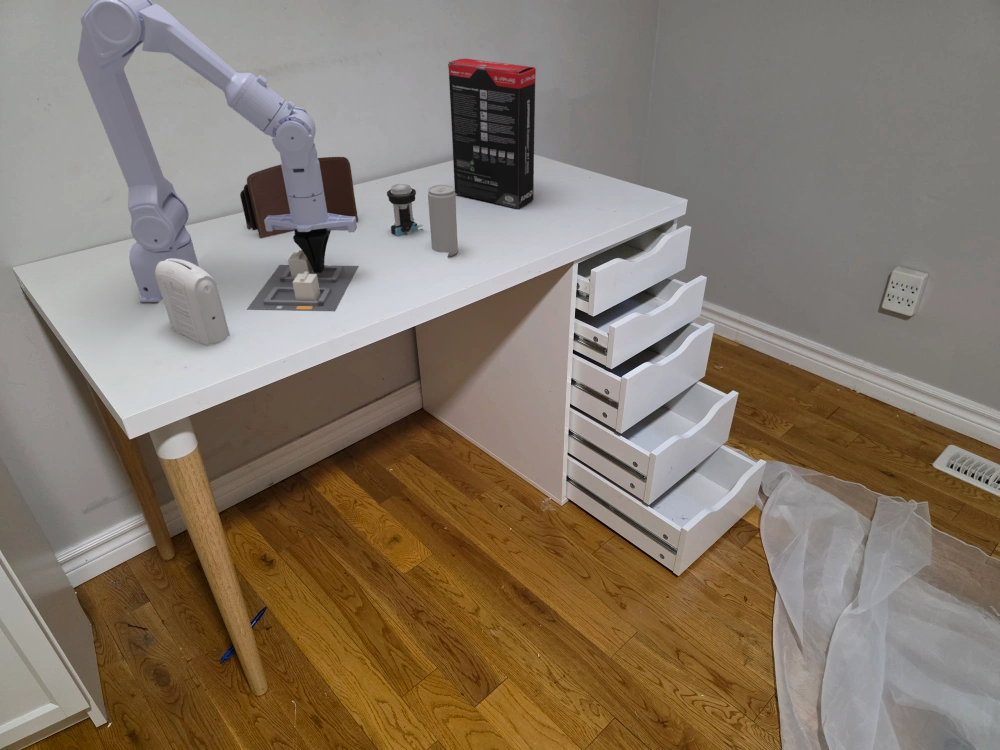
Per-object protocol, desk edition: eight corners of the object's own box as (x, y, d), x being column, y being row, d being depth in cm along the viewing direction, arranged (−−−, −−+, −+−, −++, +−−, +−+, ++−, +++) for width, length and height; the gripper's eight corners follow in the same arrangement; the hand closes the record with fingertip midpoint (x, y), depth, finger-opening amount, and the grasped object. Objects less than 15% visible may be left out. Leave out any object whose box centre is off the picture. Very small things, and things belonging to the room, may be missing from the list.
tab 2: (292, 279, 116) (287, 257, 114) (297, 271, 119) (293, 249, 116) (309, 279, 116) (305, 257, 114) (314, 271, 118) (310, 249, 116)
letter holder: (359, 222, 140) (349, 152, 132) (261, 245, 131) (244, 172, 123) (341, 207, 147) (330, 140, 139) (247, 228, 138) (230, 157, 130)
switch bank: (248, 316, 108) (245, 306, 107) (281, 270, 122) (279, 261, 121) (336, 317, 108) (334, 307, 107) (359, 272, 121) (358, 262, 120)
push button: (415, 228, 137) (411, 178, 131) (430, 236, 133) (427, 185, 128) (386, 237, 133) (380, 186, 128) (401, 245, 130) (396, 194, 124)
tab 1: (296, 302, 109) (291, 279, 107) (302, 293, 112) (297, 270, 110) (315, 302, 109) (310, 279, 107) (320, 293, 112) (316, 271, 109)
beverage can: (427, 256, 126) (422, 192, 119) (438, 245, 130) (434, 183, 123) (452, 259, 124) (448, 195, 118) (462, 249, 128) (459, 185, 121)
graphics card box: (536, 200, 148) (538, 63, 133) (519, 211, 143) (519, 70, 128) (470, 187, 156) (465, 55, 140) (452, 196, 151) (445, 61, 136)
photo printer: (236, 342, 102) (216, 265, 95) (211, 355, 99) (188, 277, 92) (194, 322, 107) (172, 248, 100) (169, 334, 104) (144, 259, 97)
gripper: (251, 200, 106) (269, 280, 114) (344, 201, 105) (356, 281, 113) (266, 184, 112) (282, 261, 120) (355, 185, 111) (365, 262, 119)
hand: (319, 270), depth 117 cm, fingers closed
